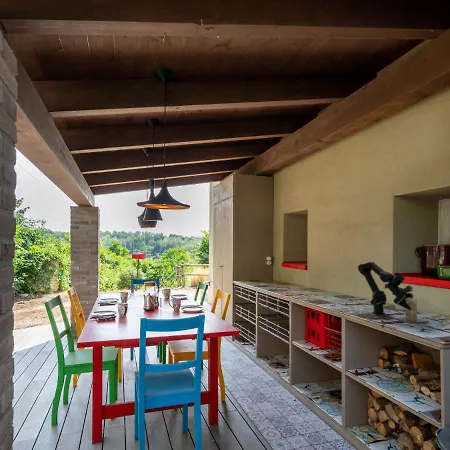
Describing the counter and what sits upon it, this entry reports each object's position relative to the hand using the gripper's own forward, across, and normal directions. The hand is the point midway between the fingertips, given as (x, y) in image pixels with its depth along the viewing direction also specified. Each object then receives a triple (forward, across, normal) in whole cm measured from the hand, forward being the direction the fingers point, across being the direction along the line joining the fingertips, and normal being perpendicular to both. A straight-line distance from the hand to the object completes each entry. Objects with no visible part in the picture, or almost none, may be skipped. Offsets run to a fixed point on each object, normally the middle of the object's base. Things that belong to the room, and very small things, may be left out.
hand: (413, 308), depth 231 cm
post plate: (+4, 0, +6) cm, 8 cm away
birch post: (+4, 0, +6) cm, 7 cm away
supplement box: (-8, +32, +20) cm, 39 cm away
